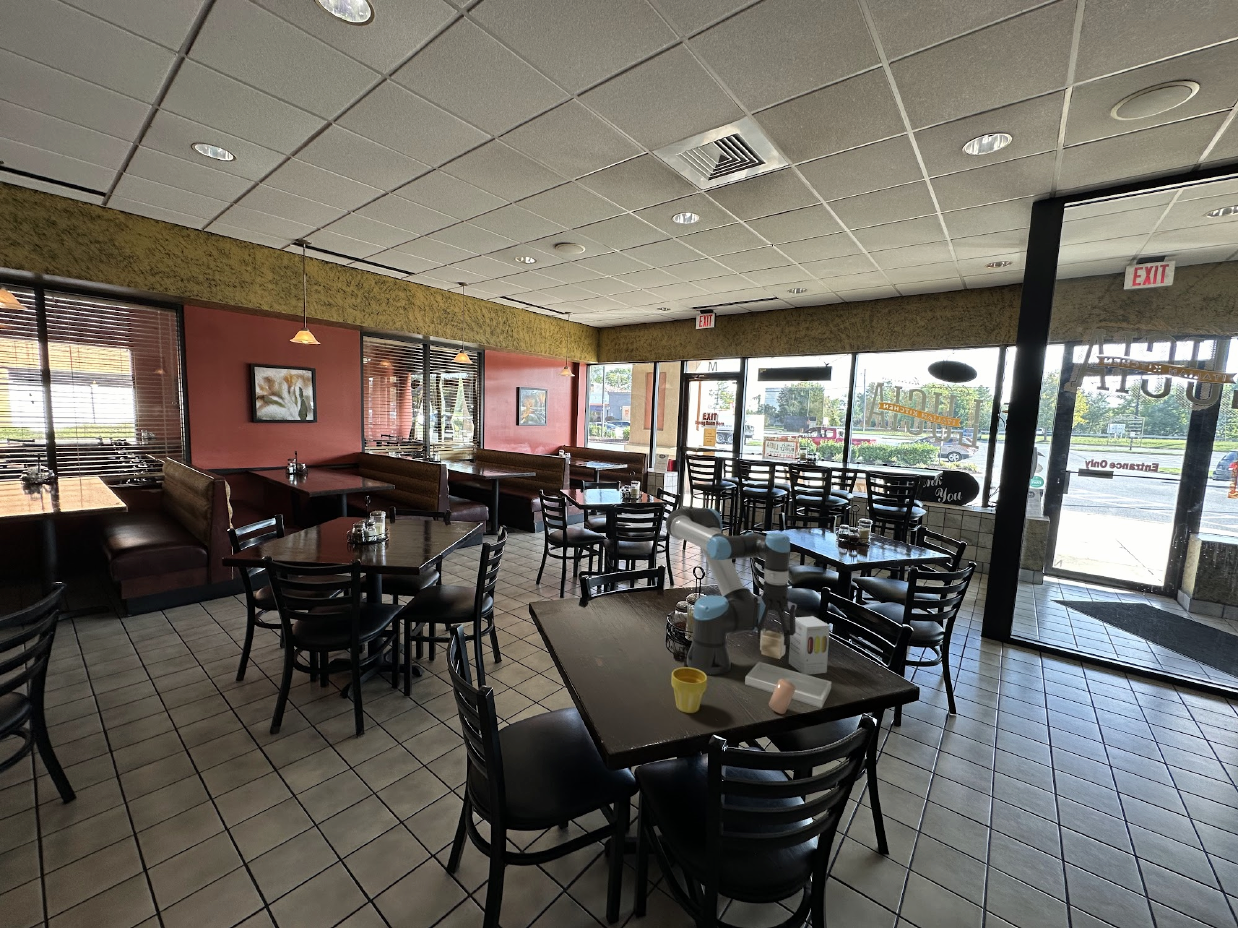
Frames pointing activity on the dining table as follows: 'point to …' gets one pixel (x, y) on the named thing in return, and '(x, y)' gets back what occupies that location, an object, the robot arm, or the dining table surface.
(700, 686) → the plant pot
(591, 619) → the dining table surface
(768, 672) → the tray
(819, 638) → the supplement box
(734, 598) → the robot arm
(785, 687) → the terracotta cylinder
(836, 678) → the dining table surface
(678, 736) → the dining table surface
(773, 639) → the maple cube
